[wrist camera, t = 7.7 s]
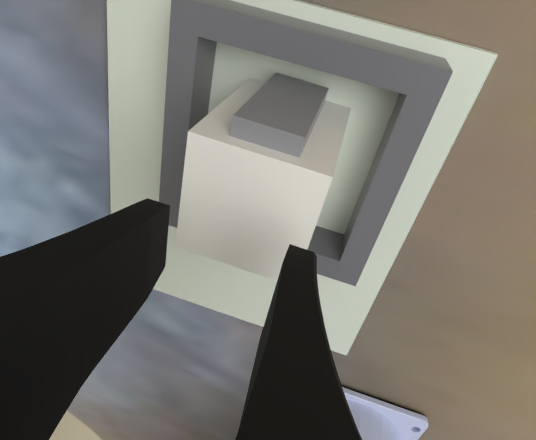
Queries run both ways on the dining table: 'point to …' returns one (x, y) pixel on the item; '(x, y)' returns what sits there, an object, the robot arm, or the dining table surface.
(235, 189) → the plug
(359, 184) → the socket board
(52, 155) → the dining table surface
